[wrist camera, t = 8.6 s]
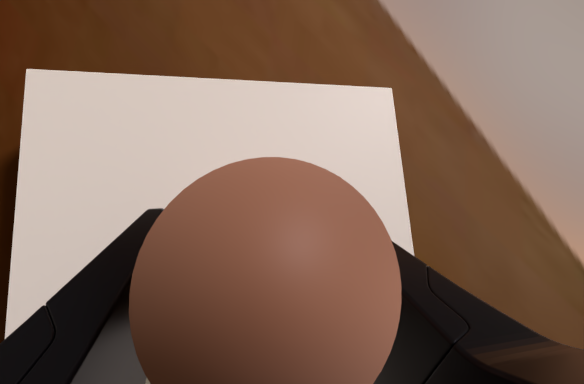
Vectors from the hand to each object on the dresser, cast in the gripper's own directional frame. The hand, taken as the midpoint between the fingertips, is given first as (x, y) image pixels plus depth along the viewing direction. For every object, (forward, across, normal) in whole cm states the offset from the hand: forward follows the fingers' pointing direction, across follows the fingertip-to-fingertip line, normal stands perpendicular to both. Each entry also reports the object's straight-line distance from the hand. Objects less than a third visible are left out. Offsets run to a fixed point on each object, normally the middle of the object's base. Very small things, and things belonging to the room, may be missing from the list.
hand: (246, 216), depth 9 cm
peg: (+5, 0, +7) cm, 8 cm away
